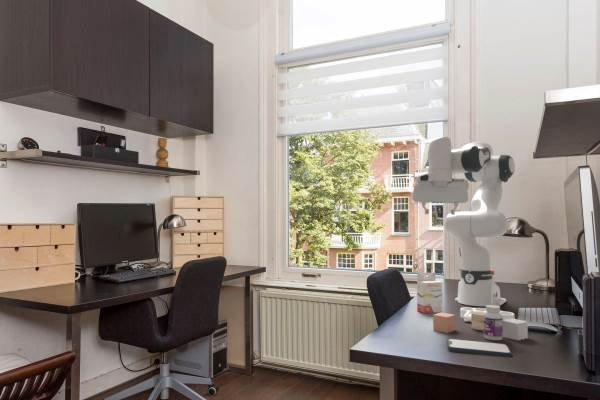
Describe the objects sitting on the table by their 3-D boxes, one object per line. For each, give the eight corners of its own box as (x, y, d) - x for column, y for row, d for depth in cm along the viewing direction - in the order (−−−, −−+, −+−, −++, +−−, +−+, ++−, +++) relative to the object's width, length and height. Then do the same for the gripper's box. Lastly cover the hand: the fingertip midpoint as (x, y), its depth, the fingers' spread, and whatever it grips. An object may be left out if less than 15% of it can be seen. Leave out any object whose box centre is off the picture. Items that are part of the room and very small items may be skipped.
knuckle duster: (454, 322, 153) (464, 314, 166) (510, 329, 144) (516, 320, 156) (454, 312, 154) (464, 305, 166) (510, 319, 144) (516, 311, 156)
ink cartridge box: (424, 313, 165) (423, 274, 166) (416, 311, 170) (416, 273, 170) (443, 312, 168) (442, 273, 168) (435, 309, 173) (435, 272, 173)
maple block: (474, 325, 147) (474, 310, 147) (490, 327, 144) (490, 312, 144) (471, 329, 143) (471, 313, 143) (487, 331, 140) (487, 315, 140)
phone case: (507, 349, 123) (447, 343, 127) (507, 344, 123) (447, 338, 127) (512, 359, 114) (448, 352, 119) (512, 353, 114) (448, 347, 119)
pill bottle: (479, 336, 133) (479, 305, 134) (493, 335, 135) (492, 303, 136) (493, 341, 128) (492, 308, 129) (507, 339, 130) (506, 307, 130)
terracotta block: (441, 327, 145) (441, 312, 145) (455, 330, 141) (455, 314, 141) (433, 330, 142) (433, 314, 142) (447, 333, 138) (447, 317, 138)
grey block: (512, 334, 136) (511, 318, 136) (527, 338, 132) (527, 321, 132) (502, 336, 133) (502, 320, 134) (518, 340, 129) (517, 323, 129)
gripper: (467, 180, 167) (467, 216, 165) (412, 179, 172) (412, 214, 170) (470, 177, 161) (470, 214, 159) (412, 176, 166) (412, 212, 164)
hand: (439, 214), depth 165 cm, fingers open, 8 cm apart
